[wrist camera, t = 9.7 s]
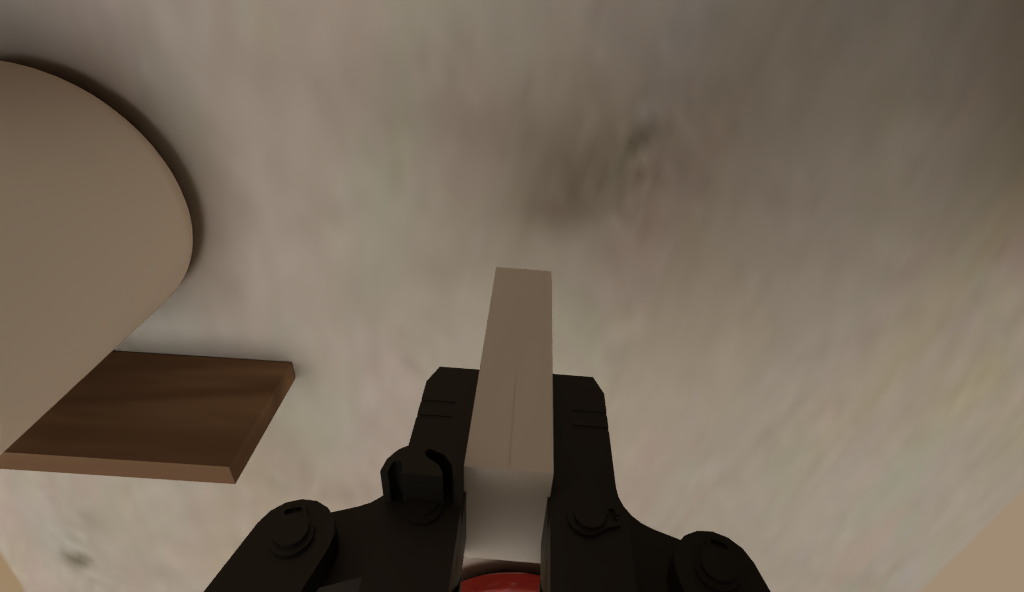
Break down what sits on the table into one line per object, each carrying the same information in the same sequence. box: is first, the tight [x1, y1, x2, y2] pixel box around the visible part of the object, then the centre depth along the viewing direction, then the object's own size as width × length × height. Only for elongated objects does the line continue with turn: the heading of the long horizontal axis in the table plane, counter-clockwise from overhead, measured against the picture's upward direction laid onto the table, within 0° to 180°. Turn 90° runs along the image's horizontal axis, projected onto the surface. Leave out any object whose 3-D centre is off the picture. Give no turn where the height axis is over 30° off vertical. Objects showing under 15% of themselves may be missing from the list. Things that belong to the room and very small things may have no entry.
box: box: [0, 351, 295, 484], centre depth 18 cm, size 18×13×6 cm
